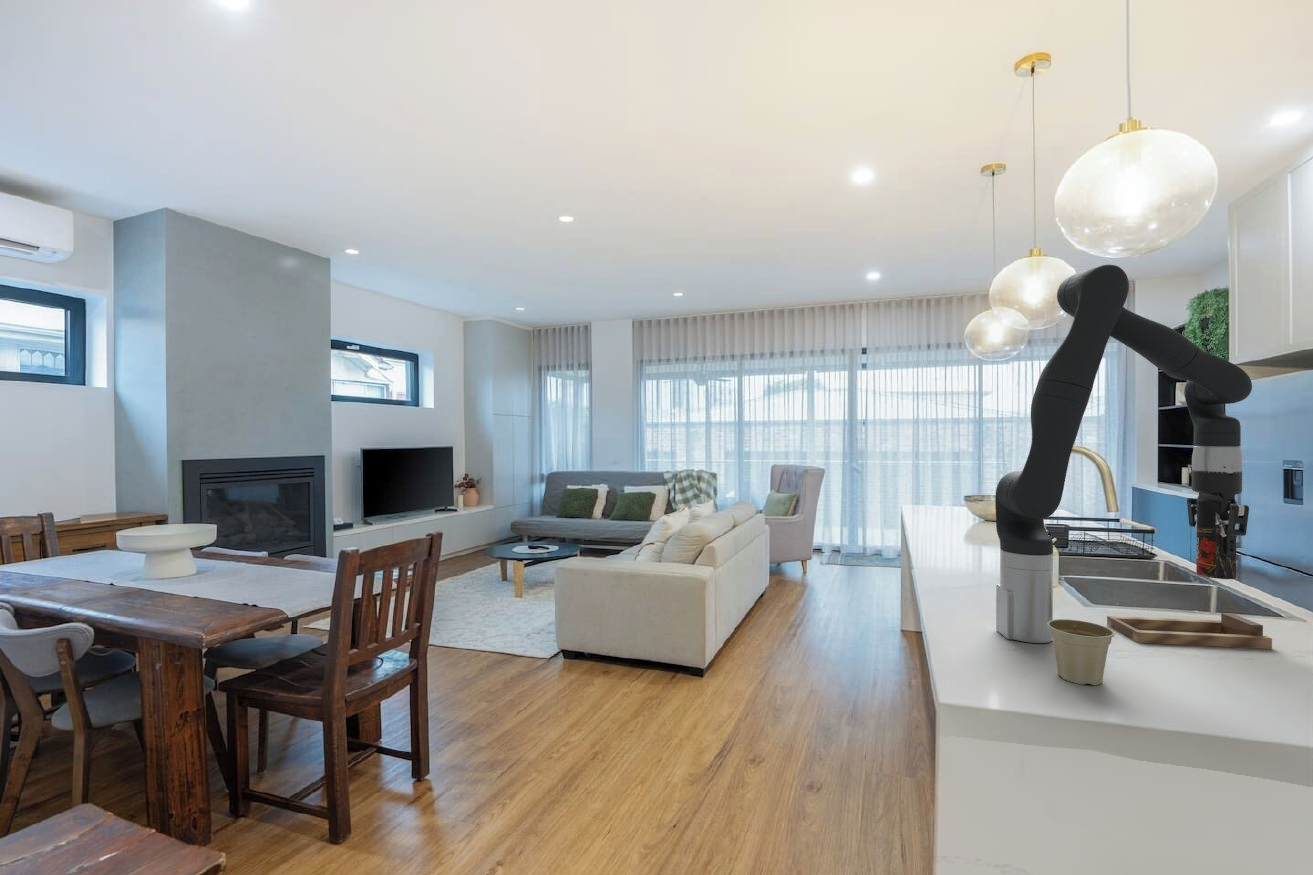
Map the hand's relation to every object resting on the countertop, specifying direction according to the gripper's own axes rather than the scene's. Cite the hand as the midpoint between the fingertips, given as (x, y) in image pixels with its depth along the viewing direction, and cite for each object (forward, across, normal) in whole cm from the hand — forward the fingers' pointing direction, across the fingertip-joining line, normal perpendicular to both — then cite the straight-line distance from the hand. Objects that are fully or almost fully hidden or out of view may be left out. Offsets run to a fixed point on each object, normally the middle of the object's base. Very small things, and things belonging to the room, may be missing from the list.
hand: (1215, 552), depth 126 cm
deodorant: (+5, 0, 0) cm, 5 cm away
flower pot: (+17, +27, -37) cm, 49 cm away
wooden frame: (+17, 0, -5) cm, 18 cm away
